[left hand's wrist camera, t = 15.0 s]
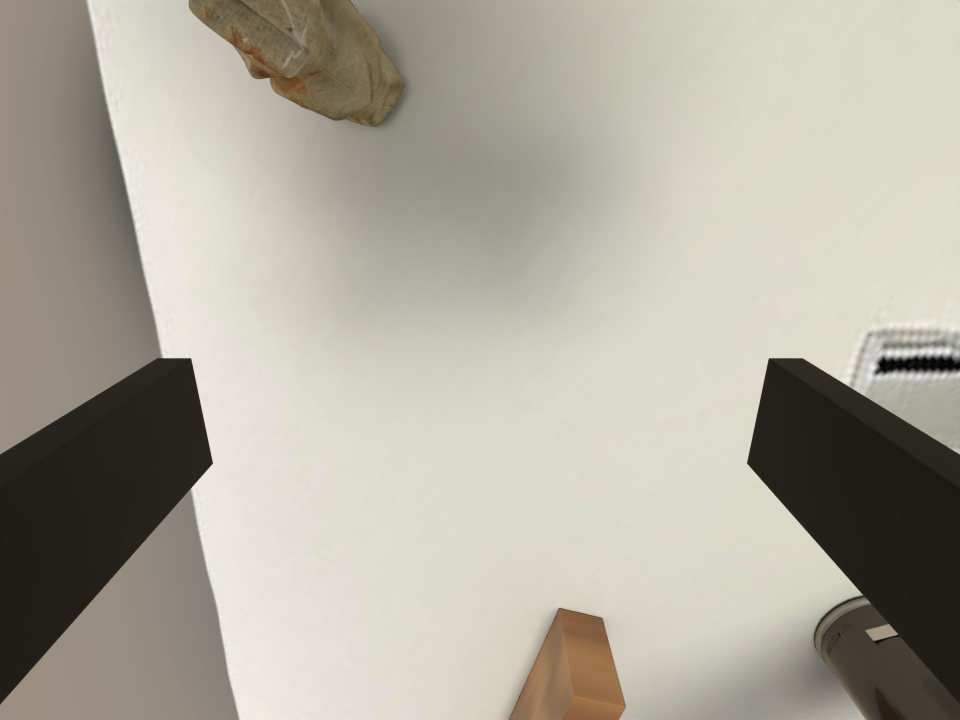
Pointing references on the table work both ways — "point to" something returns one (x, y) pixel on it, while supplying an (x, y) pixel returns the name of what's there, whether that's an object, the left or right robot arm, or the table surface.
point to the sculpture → (310, 54)
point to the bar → (572, 674)
